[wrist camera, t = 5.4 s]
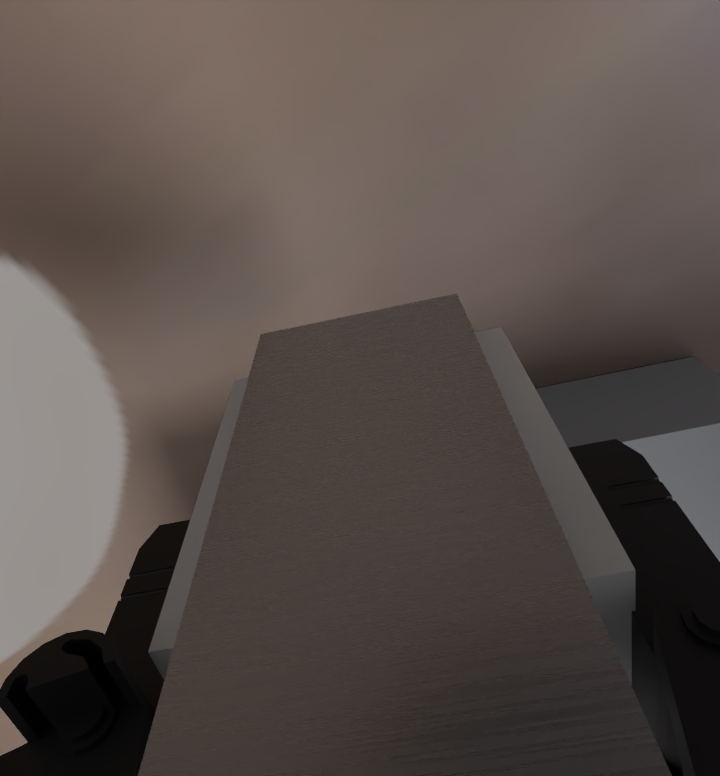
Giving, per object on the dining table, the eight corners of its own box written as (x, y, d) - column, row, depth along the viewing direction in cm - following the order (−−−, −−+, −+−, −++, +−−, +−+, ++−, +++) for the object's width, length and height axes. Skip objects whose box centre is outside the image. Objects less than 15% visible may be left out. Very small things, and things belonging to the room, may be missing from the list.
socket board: (255, 445, 20) (239, 521, 17) (694, 356, 19) (769, 418, 16) (377, 797, 29) (382, 893, 26) (679, 748, 28) (725, 840, 25)
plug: (260, 334, 13) (21, 1193, 3) (456, 294, 12) (824, 1116, 3) (309, 488, 15) (248, 1310, 5) (480, 456, 14) (747, 1270, 5)
